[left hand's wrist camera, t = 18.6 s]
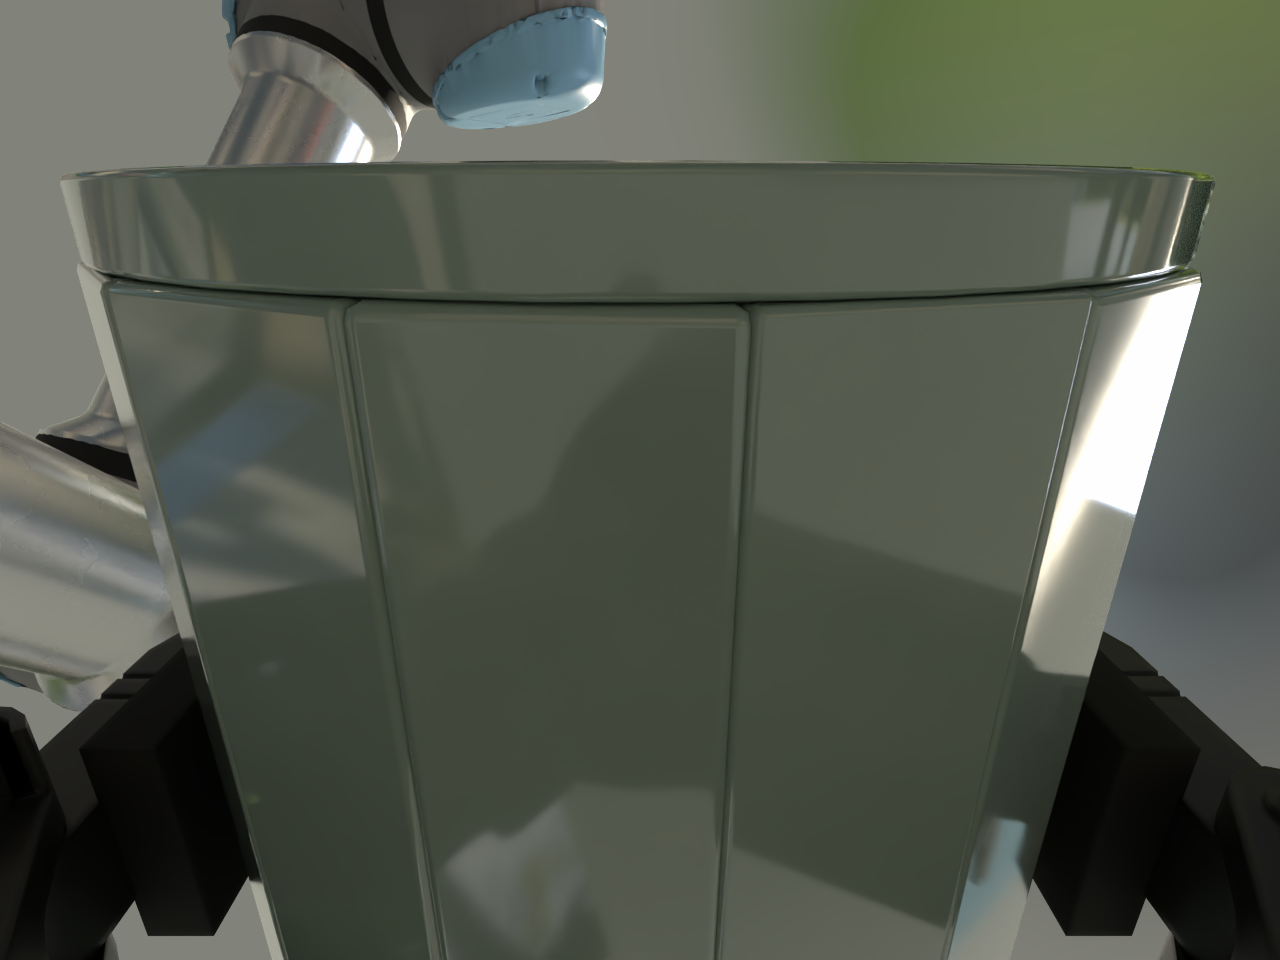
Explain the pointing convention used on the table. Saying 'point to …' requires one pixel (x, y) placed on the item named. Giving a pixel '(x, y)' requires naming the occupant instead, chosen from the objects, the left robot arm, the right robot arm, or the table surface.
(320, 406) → the beaker
